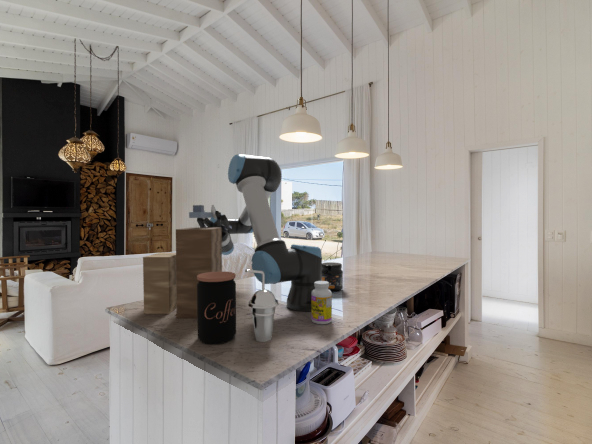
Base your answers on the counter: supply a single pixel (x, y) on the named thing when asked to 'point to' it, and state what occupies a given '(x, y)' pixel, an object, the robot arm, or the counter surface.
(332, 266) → the supplement container
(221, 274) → the coffee jar
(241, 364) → the counter surface
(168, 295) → the oak block
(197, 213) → the lid
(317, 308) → the supplement bottle
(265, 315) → the cup with straw
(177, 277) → the walnut box
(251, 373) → the counter surface
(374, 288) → the counter surface
